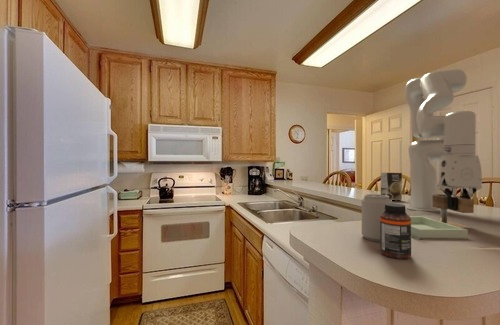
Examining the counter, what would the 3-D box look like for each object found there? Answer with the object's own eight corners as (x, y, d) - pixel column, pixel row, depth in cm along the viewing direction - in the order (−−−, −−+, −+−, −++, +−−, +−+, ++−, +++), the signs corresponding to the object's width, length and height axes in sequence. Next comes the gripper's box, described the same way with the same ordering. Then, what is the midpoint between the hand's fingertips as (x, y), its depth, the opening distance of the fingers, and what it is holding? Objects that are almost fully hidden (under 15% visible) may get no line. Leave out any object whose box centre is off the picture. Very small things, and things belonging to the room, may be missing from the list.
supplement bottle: (388, 248, 58) (388, 201, 58) (416, 256, 53) (416, 205, 53) (374, 253, 55) (374, 203, 55) (403, 262, 50) (402, 207, 50)
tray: (384, 224, 82) (384, 216, 82) (423, 224, 81) (423, 216, 81) (419, 239, 64) (419, 229, 65) (468, 240, 64) (468, 229, 64)
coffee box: (388, 201, 134) (388, 172, 134) (380, 199, 140) (380, 172, 141) (402, 201, 136) (402, 172, 136) (393, 199, 142) (393, 172, 142)
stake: (419, 220, 87) (419, 192, 87) (444, 221, 87) (444, 192, 87) (443, 228, 76) (443, 196, 76) (472, 229, 76) (471, 196, 76)
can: (397, 243, 61) (397, 197, 61) (365, 241, 63) (365, 196, 63) (386, 235, 69) (386, 193, 69) (358, 233, 70) (358, 192, 70)
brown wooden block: (427, 205, 84) (427, 194, 84) (447, 205, 84) (447, 194, 84) (456, 213, 72) (456, 199, 72) (479, 213, 72) (480, 199, 72)
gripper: (442, 150, 72) (442, 211, 72) (497, 150, 72) (497, 211, 72) (424, 151, 79) (424, 206, 79) (474, 151, 79) (474, 206, 79)
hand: (458, 208), depth 76 cm, fingers closed on brown wooden block, 3 cm apart
